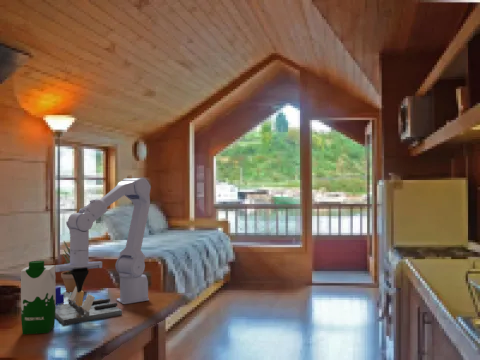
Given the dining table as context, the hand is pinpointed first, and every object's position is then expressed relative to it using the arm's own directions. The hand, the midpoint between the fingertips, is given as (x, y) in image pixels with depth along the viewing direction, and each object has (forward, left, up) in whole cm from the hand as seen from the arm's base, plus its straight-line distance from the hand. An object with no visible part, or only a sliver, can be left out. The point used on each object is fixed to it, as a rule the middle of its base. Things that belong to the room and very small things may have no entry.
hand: (78, 292), depth 151 cm
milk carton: (+14, +10, -7) cm, 19 cm away
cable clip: (+5, -22, -7) cm, 24 cm away
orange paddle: (0, 0, -5) cm, 5 cm away
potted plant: (-8, -35, -7) cm, 37 cm away
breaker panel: (-2, 0, -7) cm, 7 cm away
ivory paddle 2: (0, +7, -5) cm, 8 cm away
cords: (-8, 0, -5) cm, 9 cm away
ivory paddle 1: (0, -7, -5) cm, 8 cm away
